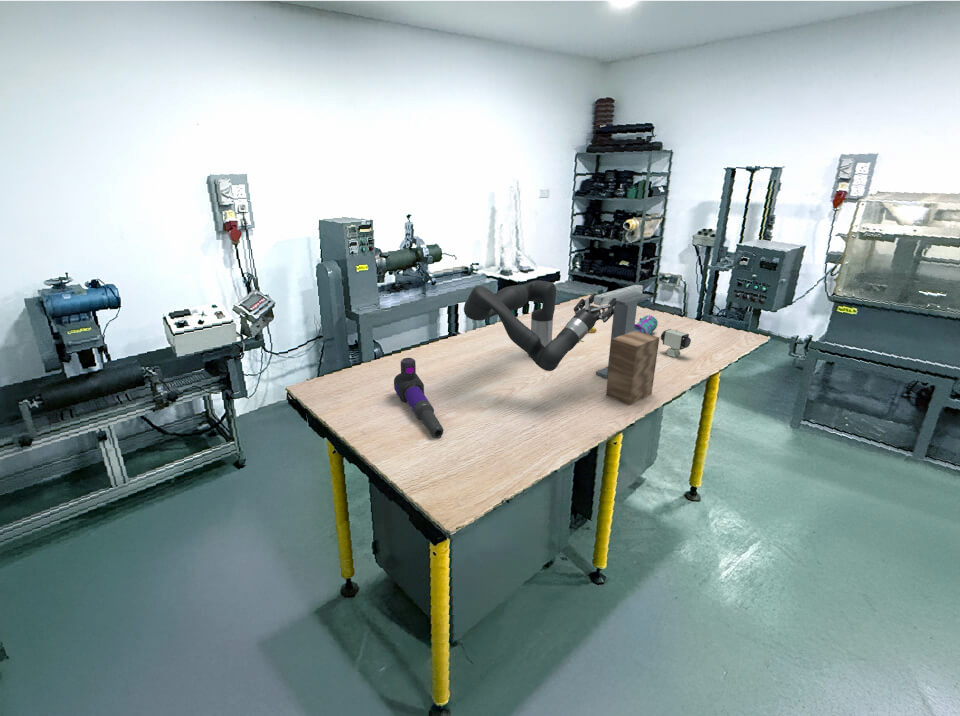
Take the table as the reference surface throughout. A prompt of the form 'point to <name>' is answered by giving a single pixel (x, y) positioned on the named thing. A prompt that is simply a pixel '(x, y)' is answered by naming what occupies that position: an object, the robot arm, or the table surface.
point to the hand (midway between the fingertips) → (605, 297)
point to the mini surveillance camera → (675, 341)
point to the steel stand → (623, 322)
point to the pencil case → (646, 325)
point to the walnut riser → (632, 366)
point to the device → (416, 396)
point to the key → (590, 332)
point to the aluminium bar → (618, 294)
